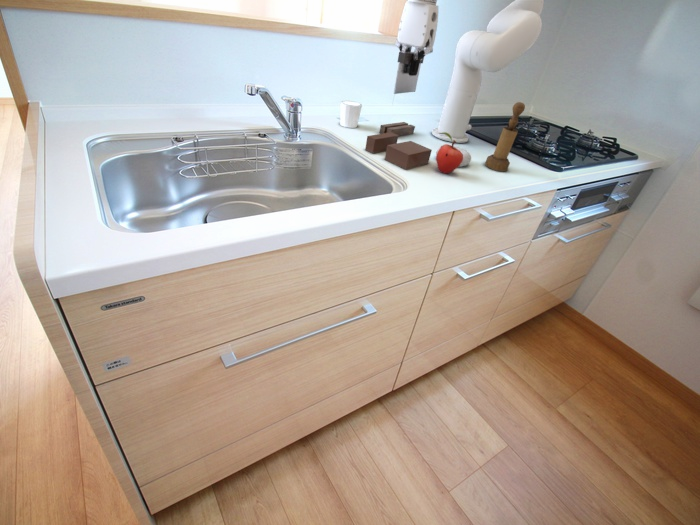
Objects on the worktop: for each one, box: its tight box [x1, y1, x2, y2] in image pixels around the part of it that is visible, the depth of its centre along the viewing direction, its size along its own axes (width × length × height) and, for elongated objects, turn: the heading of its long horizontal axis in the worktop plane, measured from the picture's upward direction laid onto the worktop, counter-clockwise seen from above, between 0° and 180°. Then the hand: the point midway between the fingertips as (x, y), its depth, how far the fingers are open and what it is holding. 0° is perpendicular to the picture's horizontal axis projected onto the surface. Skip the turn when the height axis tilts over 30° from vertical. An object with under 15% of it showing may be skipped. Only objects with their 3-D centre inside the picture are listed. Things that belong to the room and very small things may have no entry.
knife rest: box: [378, 121, 416, 137], centre depth 122 cm, size 12×5×2 cm, turn 133°
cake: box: [384, 140, 433, 171], centre depth 100 cm, size 10×8×4 cm
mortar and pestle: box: [484, 101, 526, 172], centre depth 102 cm, size 7×6×18 cm
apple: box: [435, 132, 463, 174], centre depth 96 cm, size 8×7×10 cm
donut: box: [435, 145, 472, 167], centre depth 105 cm, size 10×3×10 cm
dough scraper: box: [393, 51, 425, 95], centre depth 107 cm, size 10×2×11 cm, turn 134°
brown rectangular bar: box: [364, 132, 399, 154], centre depth 105 cm, size 10×3×4 cm, turn 133°
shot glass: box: [339, 100, 363, 129], centre depth 120 cm, size 7×7×7 cm
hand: (408, 73), depth 107 cm, fingers closed on dough scraper, 2 cm apart
